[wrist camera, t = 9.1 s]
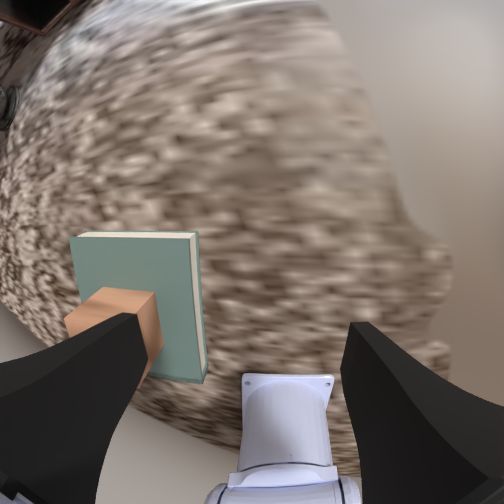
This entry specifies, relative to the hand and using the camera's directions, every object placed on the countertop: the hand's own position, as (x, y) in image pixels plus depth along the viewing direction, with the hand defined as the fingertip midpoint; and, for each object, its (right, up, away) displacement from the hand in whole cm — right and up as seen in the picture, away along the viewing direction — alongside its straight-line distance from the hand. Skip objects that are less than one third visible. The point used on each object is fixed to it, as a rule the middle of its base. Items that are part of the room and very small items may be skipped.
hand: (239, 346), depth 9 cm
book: (-8, -1, +12) cm, 15 cm away
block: (-9, -2, +10) cm, 13 cm away
